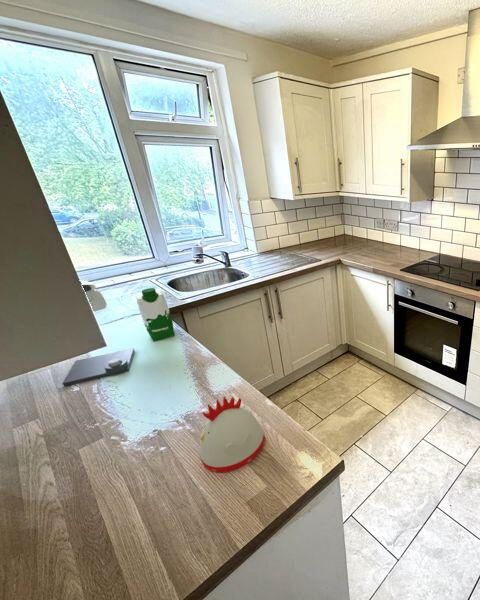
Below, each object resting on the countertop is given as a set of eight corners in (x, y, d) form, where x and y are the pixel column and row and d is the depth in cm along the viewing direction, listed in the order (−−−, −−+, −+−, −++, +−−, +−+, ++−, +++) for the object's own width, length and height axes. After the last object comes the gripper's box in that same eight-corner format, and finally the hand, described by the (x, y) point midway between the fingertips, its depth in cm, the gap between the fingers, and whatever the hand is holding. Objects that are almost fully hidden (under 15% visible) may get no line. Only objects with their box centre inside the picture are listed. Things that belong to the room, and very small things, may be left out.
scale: (63, 388, 100) (59, 380, 99) (76, 364, 112) (73, 356, 110) (128, 372, 107) (125, 365, 106) (134, 351, 119) (132, 344, 118)
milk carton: (150, 343, 124) (133, 294, 116) (148, 334, 130) (132, 287, 122) (177, 336, 129) (163, 289, 121) (174, 327, 136) (160, 282, 128)
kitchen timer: (193, 447, 80) (177, 399, 74) (250, 418, 89) (239, 372, 83) (214, 484, 71) (197, 432, 65) (274, 447, 80) (264, 398, 74)
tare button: (109, 367, 105) (107, 363, 105) (111, 363, 108) (109, 359, 107) (120, 365, 107) (118, 361, 106) (122, 361, 109) (120, 357, 108)
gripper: (8, 306, 90) (31, 349, 95) (100, 283, 106) (115, 320, 111) (1, 301, 92) (24, 343, 98) (91, 279, 109) (106, 316, 114)
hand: (73, 331), depth 105 cm, fingers closed on bowl, 6 cm apart
